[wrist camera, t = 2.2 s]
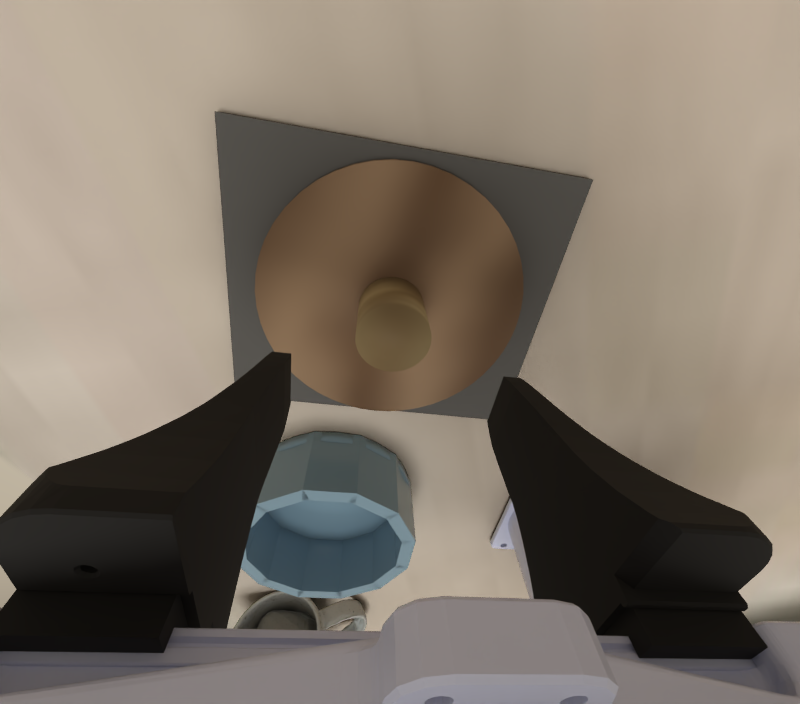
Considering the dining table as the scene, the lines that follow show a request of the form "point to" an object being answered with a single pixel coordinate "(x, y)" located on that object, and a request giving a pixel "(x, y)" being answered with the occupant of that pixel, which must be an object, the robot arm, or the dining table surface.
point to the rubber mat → (326, 151)
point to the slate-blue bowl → (331, 518)
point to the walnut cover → (389, 285)
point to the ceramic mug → (300, 614)
